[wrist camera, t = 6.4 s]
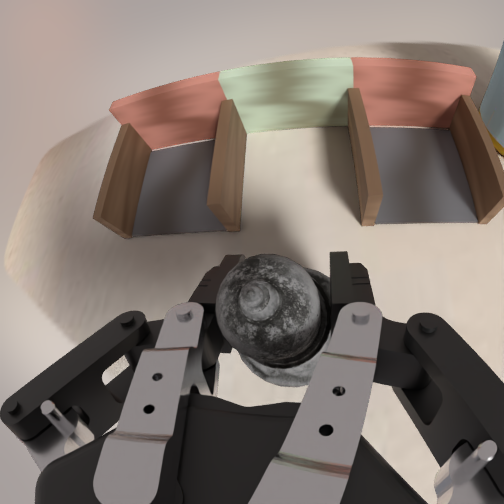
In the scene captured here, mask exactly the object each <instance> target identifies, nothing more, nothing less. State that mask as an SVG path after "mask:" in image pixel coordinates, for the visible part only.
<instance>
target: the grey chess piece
mask: <svg viewBox="0 0 504 504" xmlns="http://www.w3.org/2000/svg"><path fill="white" fill-rule="evenodd" d="M215 310H216V317H217V323H218V325H219V327H220V330H221V332H222V334H223V336H224V337H225V338H226V340H227V341H228V342H229V343H230V345H231V346H232V347H233V348H235V349H236V350H237V351H238V352H239V354H240V357H241V359H242V361H243V362H244V363H245V364H246V365H247V367H248V368H249V369H250V370H251V371H252V372H253V373H254V374H256V375H257V376H259V377H260V378H262V379H263V380H265V381H267V382H269V383H272V384H275V385H278V386H284V387H300V386H305V385H309V383H310V380H311V378H312V375H313V373H314V370H315V367H316V365H317V362H318V360H319V357H320V355H321V353H322V352H327V349H328V346H329V343H330V340H331V305H330V278H329V277H327V276H326V275H324V274H322V273H320V272H319V271H315V270H312V269H308V268H304V267H302V266H301V265H299V264H297V263H296V262H294V261H292V260H290V259H289V258H287V257H283V256H279V255H275V254H260V255H257V256H253V257H249V258H247V259H245V260H244V261H242V262H240V263H238V264H237V265H236V266H235V267H234V268H233V269H232V270H231V271H229V272H228V274H227V275H226V277H225V278H224V280H223V281H222V283H221V285H220V288H219V291H218V294H217V298H216V308H215Z"/></svg>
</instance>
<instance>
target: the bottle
mask: <svg viewBox="0 0 504 504" xmlns="http://www.w3.org/2000/svg"><path fill="white" fill-rule="evenodd" d="M479 114H480V116H481V118H482V120H483V123H484V125H485V127H486V129H487V131H488V133H489V136H490V138H491V140H492V142H493V145H494V147H495V149H496V150H497V151H498V152H499V153H500V154H501V155H503V156H504V42H503V45H502V48H501V51H500V55H499V58H498V61H497V63H496V66H495V69H494V72H493V75H492V77H491V80H490V83H489V85H488V88H487V91H486V93H485V96H484V98H483V100H482V103H481V106H480V109H479Z"/></svg>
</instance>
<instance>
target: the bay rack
mask: <svg viewBox="0 0 504 504" xmlns="http://www.w3.org/2000/svg"><path fill="white" fill-rule="evenodd" d="M476 77H477V76H476V75H475V73H474V72H473V70H472V69H471V68H468V67H463V66H457V65H451V64H444V63H437V62H429V61H419V60H408V59H393V58H362V57H353V58H320V59H305V60H294V61H284V62H275V63H267V64H260V65H253V66H247V67H241V68H235V69H229V70H224V71H219V72H214V73H210V74H205V75H201V76H196V77H193V78H188V79H184V80H180V81H177V82H173V83H169V84H166V85H162V86H159V87H155V88H152V89H149V90H146V91H143V92H139V93H136V94H133V95H131V96H128V97H125V98H122V99H119V100H116V101H114V102H113V103H112V105H111V107H110V109H109V111H110V112H111V113H112V114H113V116H114V117H115V118H116V119H117V120H118V121H119V123H120V124H121V125H122V126H121V128H120V131H119V134H118V136H117V139H116V142H115V145H114V148H113V151H112V153H111V156H110V159H109V163H108V166H107V169H106V172H105V175H104V178H103V182H102V185H101V189H100V192H99V196H98V199H97V203H96V207H95V211H94V215H93V219H95V220H96V221H98V222H99V223H101V224H102V225H104V226H105V227H107V228H109V229H110V230H112V231H113V232H115V233H117V234H118V235H120V236H121V237H123V238H132V236H147V235H162V234H177V233H192V232H209V231H226V230H227V231H228V232H233V231H240V221H241V206H242V192H243V177H244V164H245V150H246V137H247V133H255V132H264V131H273V130H284V129H296V128H310V127H328V126H348V130H349V136H350V142H351V148H352V154H353V160H354V167H355V173H356V181H357V188H358V196H359V205H360V214H361V223H362V226H374V223H375V224H407V223H477V222H478V224H487V223H488V222H489V221H490V220H491V219H492V218H493V217H494V216H495V215H496V214H497V213H498V212H499V211H500V210H501V209H502V208H503V207H504V170H503V168H502V165H501V162H500V160H499V157H498V155H497V152H496V150H495V147H494V145H493V142H492V140H491V138H490V136H489V133H488V131H487V129H486V127H485V125H484V123H483V120H482V118H481V116H480V114H479V112H478V110H477V108H476V106H475V104H474V103H473V101H472V99H471V97H470V94H471V91H472V88H473V86H474V83H475V80H476ZM369 125H390V126H420V127H437V128H449V130H437V129H420V128H385V127H369ZM211 138H216V140H211V141H205V142H199V143H193V144H188V145H182V146H177V147H172V148H167V149H162V150H157V151H152V150H153V149H158V148H162V147H167V146H172V145H177V144H183V143H188V142H194V141H199V140H205V139H211Z"/></svg>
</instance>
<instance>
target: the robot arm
mask: <svg viewBox="0 0 504 504" xmlns="http://www.w3.org/2000/svg"><path fill="white" fill-rule="evenodd" d="M244 260H245V256H244V255H226V256H225V258H224V259H223V261H222V263H221V264H220V266H216V267H213V268H212V269H211V270H209V271H208V272H207V273H206V274H205V275H204V277H203V279H202V281H201V282H200V283H199V285H198V287H197V288H196V290H195V291H194V293H193V294H192V296H191V298H190V299H189V301H188V302H186V303H181V304H178V305H176V306H174V307H173V308H171V309H170V310H169V311H168V312H167V314H166V316H165V319H162V320H156V321H149V322H147V320H146V317H145V315H144V314H143V313H142V312H140V311H129V312H125V313H123V314H121V315H119V316H118V317H116V318H115V319H114V320H112V321H111V322H109V323H108V324H107V325H105V326H104V327H102V328H101V329H100V330H98V331H97V332H96V333H94V334H93V335H91V336H90V337H89V338H87V339H86V340H85V341H83V342H82V343H81V344H79V345H78V346H77V347H75V348H74V349H72V350H71V351H70V352H69V353H67V354H66V355H65V356H63V357H62V358H60V359H59V360H58V361H56V362H55V363H54V364H52V365H51V366H50V367H48V368H47V369H46V370H44V371H43V372H42V373H40V374H39V375H38V376H36V377H35V378H34V379H32V380H31V381H30V382H29V383H27V384H26V385H25V386H24V387H22V388H21V389H20V390H18V391H17V392H16V393H14V394H13V395H12V396H10V397H9V398H8V399H7V400H6V401H5V402H4V403H3V405H2V407H1V411H0V418H1V420H2V422H3V423H4V424H5V425H6V426H7V427H8V428H9V429H10V430H11V431H12V432H13V433H14V434H15V435H16V437H17V438H18V439H19V440H20V441H21V442H22V443H23V444H24V445H25V446H26V447H27V449H28V451H29V453H30V454H31V456H32V458H33V460H34V461H35V463H36V464H37V466H38V467H39V469H40V471H41V474H40V476H39V478H38V481H37V484H36V490H35V504H428V503H427V502H426V501H425V500H424V499H423V498H422V497H421V496H420V495H419V494H418V493H417V492H416V491H415V490H414V489H413V488H412V487H411V486H410V485H409V484H408V483H407V482H406V481H405V480H404V479H403V478H402V477H401V476H400V475H399V474H398V473H397V472H396V471H395V470H394V469H393V468H392V467H391V466H390V465H389V464H388V462H387V461H386V460H385V459H384V458H383V457H382V456H381V455H380V454H379V453H378V452H377V451H376V450H375V449H374V448H373V447H372V446H371V444H370V443H369V442H368V441H367V440H366V439H365V438H364V437H363V436H362V435H361V432H362V428H363V424H364V420H365V416H366V411H367V407H368V403H369V398H370V393H371V388H372V383H373V382H375V383H379V384H384V385H389V386H392V388H393V391H394V392H395V394H396V396H397V397H398V399H399V400H400V402H401V404H402V405H403V407H404V408H405V410H406V411H407V413H408V415H409V416H410V418H411V419H412V421H413V423H414V424H415V426H416V428H417V429H418V431H419V432H420V434H421V436H422V437H423V439H424V441H425V442H426V444H427V446H428V447H429V449H430V451H431V452H432V454H433V456H434V457H435V459H436V461H437V462H438V464H439V466H440V469H439V470H438V472H437V474H436V476H435V480H434V488H435V491H436V494H437V504H504V383H503V382H502V381H501V380H500V378H499V377H498V376H497V375H496V374H495V373H494V372H493V371H492V369H491V368H490V367H489V366H488V365H487V364H486V363H485V362H484V361H483V360H482V358H481V357H480V356H479V355H478V354H477V353H476V352H475V351H474V350H473V349H472V348H471V347H470V346H469V345H468V344H467V343H466V342H465V341H464V340H463V338H462V337H461V336H460V335H459V334H458V333H457V332H456V331H455V330H454V329H453V328H452V327H451V326H450V325H449V324H448V323H447V322H446V321H445V320H444V319H442V318H441V317H439V316H438V315H435V314H432V313H418V314H415V315H413V316H412V317H410V318H409V320H408V321H407V324H405V323H400V322H394V321H391V320H388V319H386V318H384V317H383V316H382V312H381V310H380V309H379V308H378V307H376V306H375V301H374V297H373V292H372V288H371V285H370V279H369V275H368V271H367V269H366V268H365V267H364V266H363V265H362V264H361V263H349V259H348V253H347V251H344V252H330V305H331V340H330V343H329V346H328V349H327V352H322V353H321V355H320V357H319V360H318V362H317V365H316V367H315V370H314V373H313V375H312V378H311V380H310V383H309V385H308V388H307V390H306V393H305V395H304V398H303V400H302V402H301V403H295V402H283V403H276V404H269V405H262V406H254V407H244V406H241V405H238V404H235V403H232V402H229V401H226V400H223V399H220V398H218V397H217V392H218V380H219V367H220V365H219V361H218V357H219V354H220V353H231V350H232V346H231V345H230V343H229V342H228V341H227V340H226V338H225V337H224V336H223V334H222V332H221V330H220V327H219V325H218V323H217V317H216V310H215V308H216V298H217V294H218V291H219V288H220V285H221V283H222V281H223V280H224V278H225V277H226V275H227V274H228V272H229V271H231V270H232V269H233V268H234V267H235V266H236V265H237V264H238V263H240V262H242V261H244ZM123 355H125V357H126V359H127V361H128V363H129V365H130V366H129V367H127V368H126V369H125V370H124V371H122V372H121V373H120V374H119V375H118V376H116V377H115V378H114V379H113V380H112V381H110V382H109V383H108V384H107V385H104V383H103V381H102V374H103V372H104V371H105V370H106V369H107V368H108V367H109V366H111V365H112V364H113V363H114V362H116V361H117V360H118V359H119V358H121V357H122V356H123ZM118 421H119V422H118ZM117 422H118V425H117V428H115V429H113V430H111V431H110V432H108V433H106V434H104V433H105V432H106V431H107V430H109V429H110V428H111V427H112V426H113V425H114V424H115V423H117ZM103 434H104V435H103Z"/></svg>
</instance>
